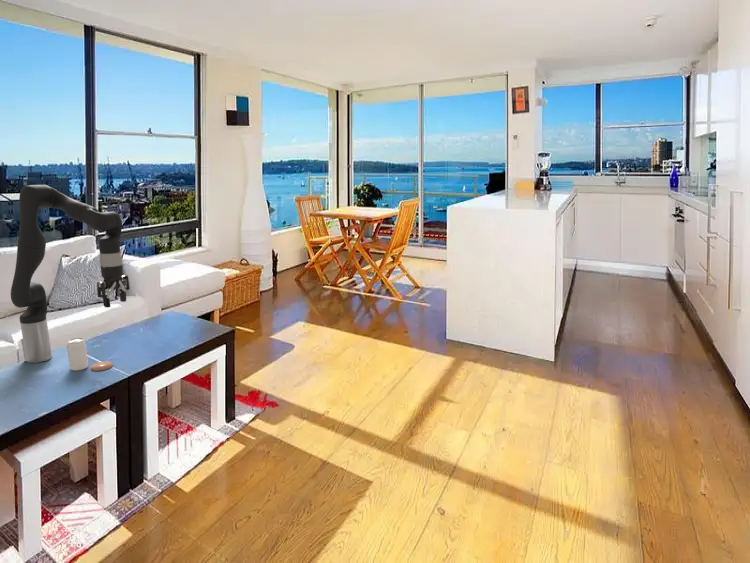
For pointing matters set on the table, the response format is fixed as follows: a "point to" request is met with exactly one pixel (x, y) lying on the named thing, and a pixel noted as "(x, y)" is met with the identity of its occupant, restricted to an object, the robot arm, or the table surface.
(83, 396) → the table surface
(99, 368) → the peach round disc
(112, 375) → the table surface
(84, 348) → the can
